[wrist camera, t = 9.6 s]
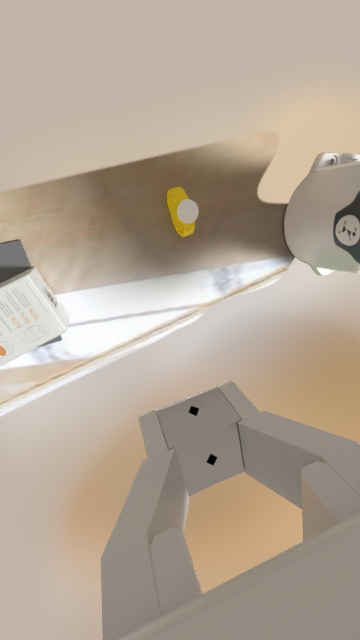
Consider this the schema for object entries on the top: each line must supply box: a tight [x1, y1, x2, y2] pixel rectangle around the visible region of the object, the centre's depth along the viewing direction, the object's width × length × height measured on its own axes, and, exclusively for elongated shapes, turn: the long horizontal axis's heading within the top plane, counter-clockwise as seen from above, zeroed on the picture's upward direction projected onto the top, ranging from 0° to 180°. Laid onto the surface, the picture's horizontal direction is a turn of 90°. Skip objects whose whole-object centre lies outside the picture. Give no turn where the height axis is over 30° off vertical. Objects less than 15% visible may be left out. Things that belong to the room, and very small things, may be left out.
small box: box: [0, 267, 69, 366], centre depth 34 cm, size 8×6×10 cm
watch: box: [167, 187, 199, 237], centre depth 36 cm, size 6×3×6 cm, turn 17°
